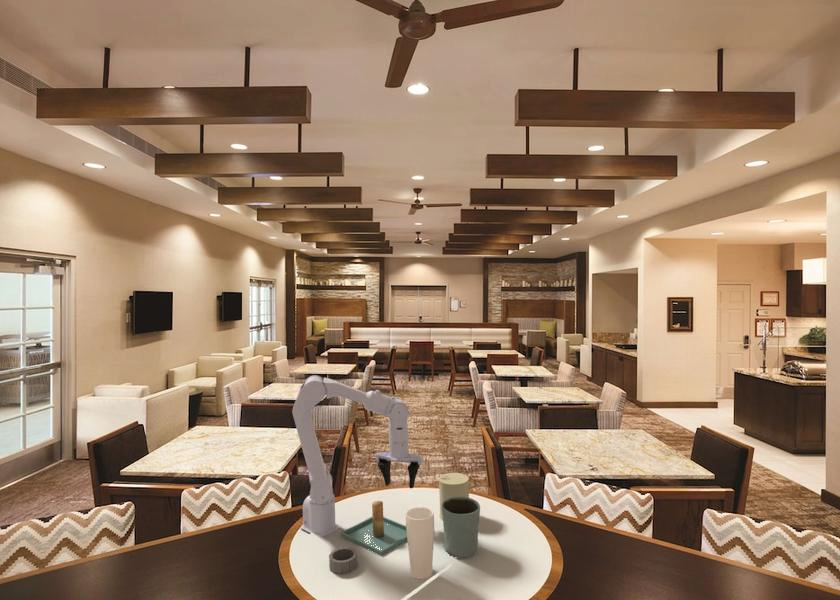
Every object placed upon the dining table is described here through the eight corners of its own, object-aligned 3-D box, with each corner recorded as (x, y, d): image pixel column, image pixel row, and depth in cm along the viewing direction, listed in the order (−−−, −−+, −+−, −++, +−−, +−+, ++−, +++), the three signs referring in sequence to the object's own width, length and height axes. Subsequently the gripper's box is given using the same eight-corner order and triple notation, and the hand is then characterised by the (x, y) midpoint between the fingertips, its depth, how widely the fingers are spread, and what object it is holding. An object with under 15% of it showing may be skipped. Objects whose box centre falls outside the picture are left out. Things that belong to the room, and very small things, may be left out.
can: (441, 508, 152) (439, 470, 152) (470, 509, 151) (469, 471, 151) (438, 522, 143) (436, 482, 143) (469, 524, 142) (468, 483, 142)
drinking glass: (433, 584, 114) (431, 520, 113) (404, 581, 115) (402, 518, 115) (437, 568, 120) (436, 507, 120) (410, 565, 122) (409, 506, 121)
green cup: (453, 536, 135) (452, 493, 135) (487, 545, 130) (486, 501, 130) (435, 554, 126) (434, 508, 126) (471, 564, 121) (470, 517, 121)
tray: (340, 538, 136) (340, 532, 136) (377, 519, 146) (377, 514, 146) (380, 557, 125) (380, 551, 125) (417, 536, 136) (416, 530, 136)
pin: (371, 535, 136) (369, 503, 135) (378, 531, 138) (377, 499, 138) (378, 538, 134) (377, 506, 133) (386, 534, 136) (385, 502, 136)
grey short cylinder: (324, 569, 121) (323, 555, 121) (345, 557, 126) (344, 544, 126) (341, 579, 116) (341, 565, 116) (363, 566, 122) (362, 553, 121)
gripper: (370, 442, 143) (372, 488, 144) (417, 446, 139) (418, 493, 139) (380, 435, 150) (381, 479, 150) (425, 439, 145) (426, 484, 146)
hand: (399, 485), depth 145 cm, fingers open, 7 cm apart
